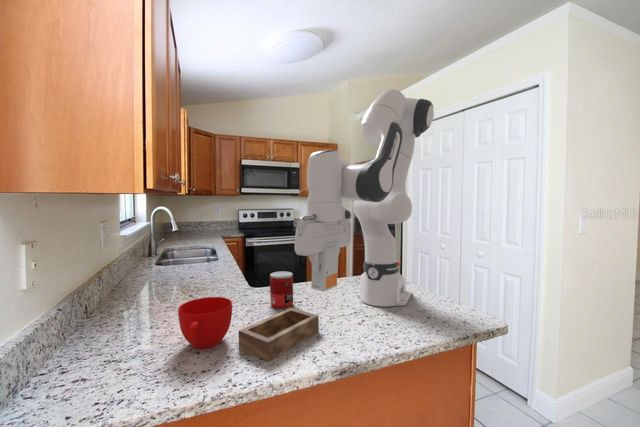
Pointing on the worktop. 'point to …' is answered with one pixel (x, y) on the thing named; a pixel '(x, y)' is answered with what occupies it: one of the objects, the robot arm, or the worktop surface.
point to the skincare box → (326, 268)
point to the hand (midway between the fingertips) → (325, 267)
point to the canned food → (281, 289)
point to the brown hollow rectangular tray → (278, 333)
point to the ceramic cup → (205, 321)
